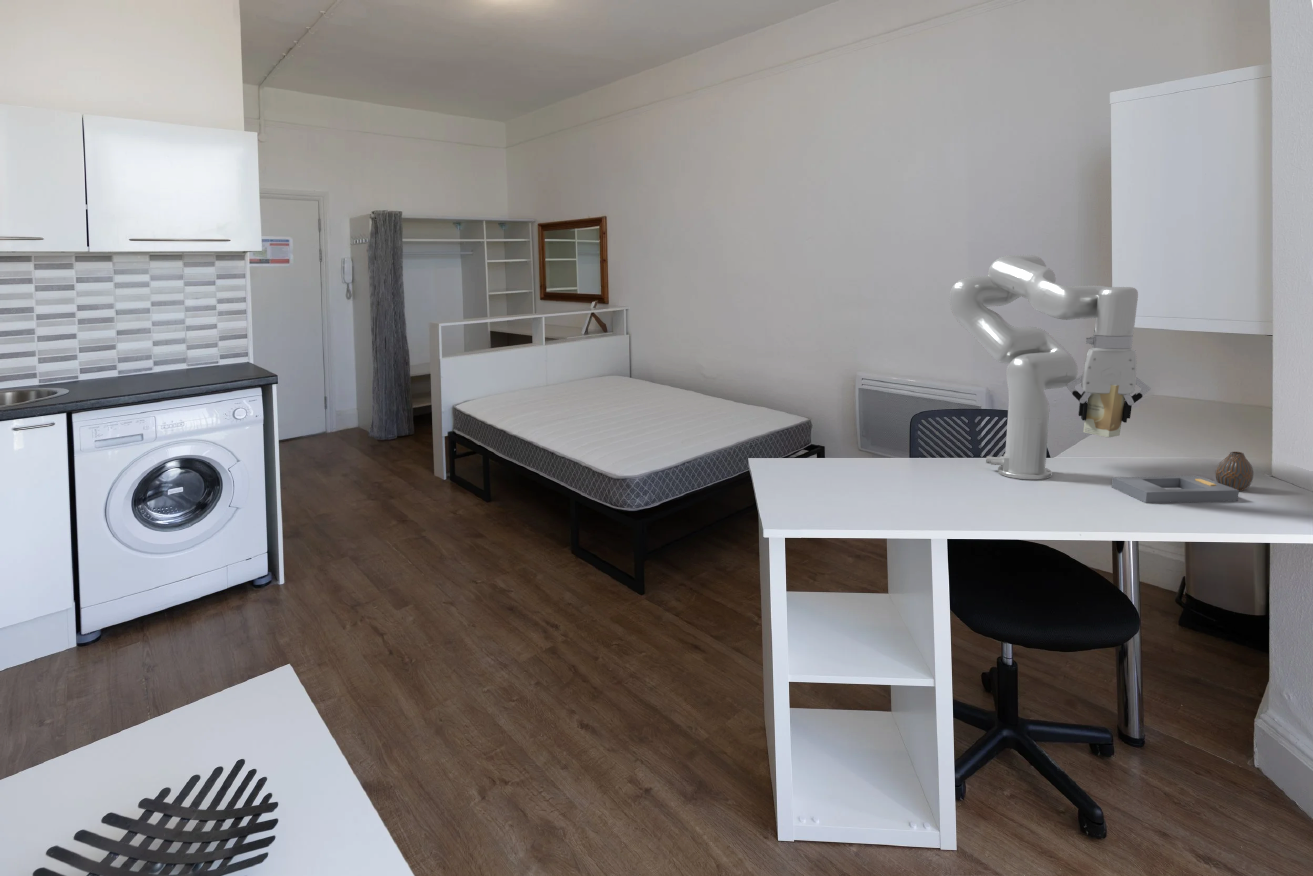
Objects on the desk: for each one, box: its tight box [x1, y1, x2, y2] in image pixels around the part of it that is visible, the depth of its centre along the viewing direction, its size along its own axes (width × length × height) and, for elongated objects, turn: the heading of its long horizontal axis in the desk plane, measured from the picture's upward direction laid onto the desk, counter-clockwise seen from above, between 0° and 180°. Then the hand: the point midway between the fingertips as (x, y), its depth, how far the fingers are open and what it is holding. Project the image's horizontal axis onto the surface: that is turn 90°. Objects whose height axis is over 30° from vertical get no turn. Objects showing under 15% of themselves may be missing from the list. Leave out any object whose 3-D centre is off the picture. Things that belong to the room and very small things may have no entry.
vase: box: [1215, 451, 1255, 492], centre depth 168 cm, size 7×7×9 cm
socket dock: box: [1111, 475, 1240, 504], centre depth 166 cm, size 20×13×3 cm, turn 88°
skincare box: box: [1082, 385, 1125, 438], centre depth 163 cm, size 6×4×12 cm
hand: (1103, 419), depth 163 cm, fingers closed on skincare box, 7 cm apart
